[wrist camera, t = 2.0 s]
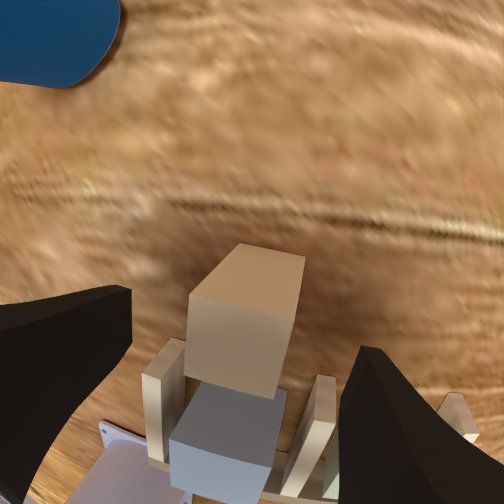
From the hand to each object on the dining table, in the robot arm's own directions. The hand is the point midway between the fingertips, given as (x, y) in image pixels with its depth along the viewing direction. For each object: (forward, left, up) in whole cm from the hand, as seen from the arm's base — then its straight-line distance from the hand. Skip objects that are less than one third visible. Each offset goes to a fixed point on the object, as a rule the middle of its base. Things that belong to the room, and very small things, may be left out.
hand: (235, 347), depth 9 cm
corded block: (-5, 0, -6) cm, 7 cm away
